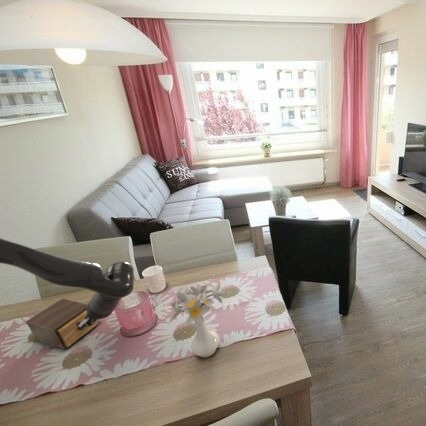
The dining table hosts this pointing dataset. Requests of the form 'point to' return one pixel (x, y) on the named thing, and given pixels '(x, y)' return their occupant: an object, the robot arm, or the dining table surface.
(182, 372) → the dining table surface
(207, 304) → the flower vase
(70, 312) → the wooden drawer box
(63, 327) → the wooden drawer with knob
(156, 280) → the white cup
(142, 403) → the dining table surface
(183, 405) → the dining table surface
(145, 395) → the dining table surface
